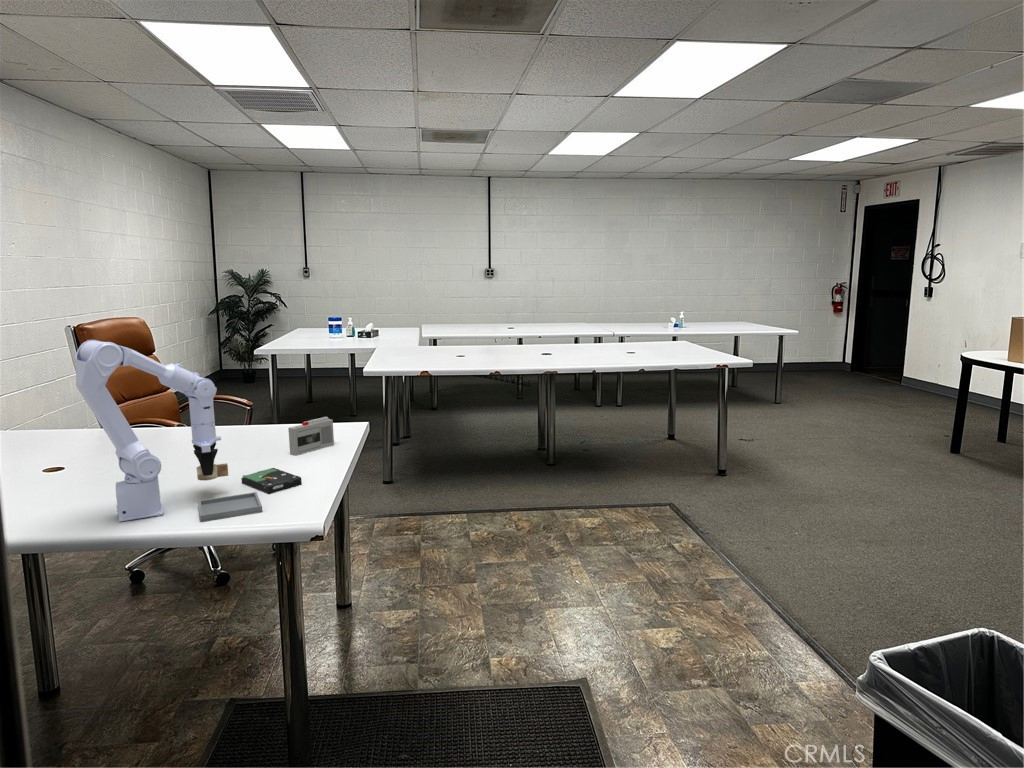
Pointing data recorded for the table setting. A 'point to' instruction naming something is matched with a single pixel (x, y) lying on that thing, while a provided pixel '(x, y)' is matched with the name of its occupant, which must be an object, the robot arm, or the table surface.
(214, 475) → the tabbed cylinder
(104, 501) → the table surface
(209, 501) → the tray
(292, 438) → the cassette player
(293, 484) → the disk drive
